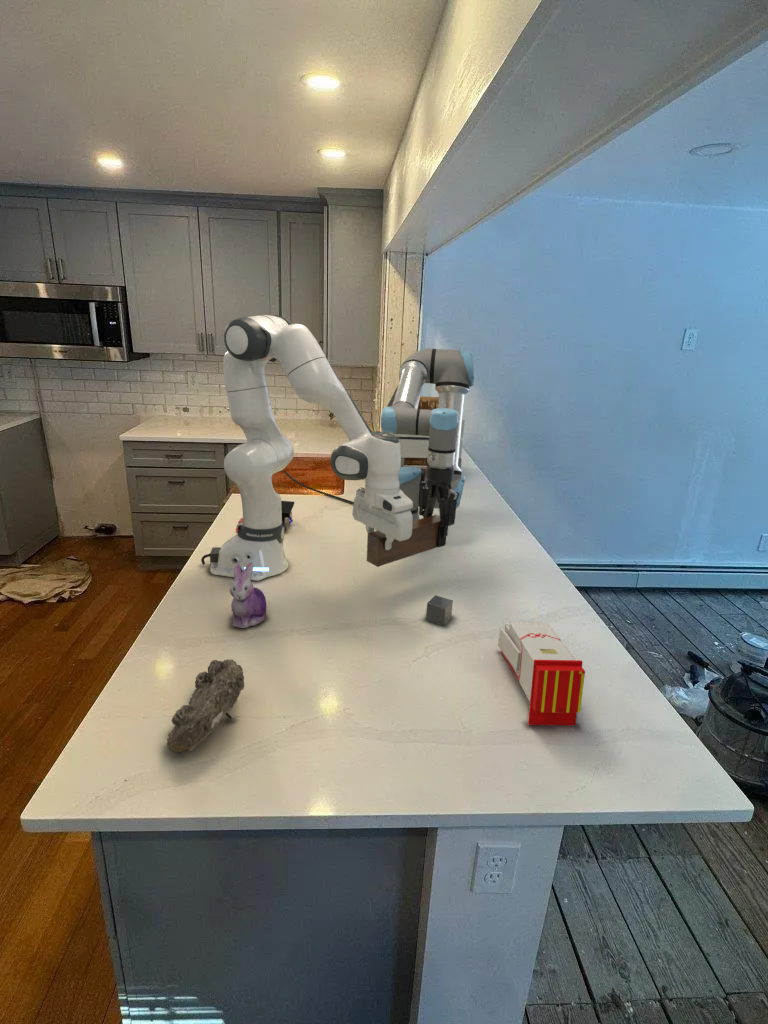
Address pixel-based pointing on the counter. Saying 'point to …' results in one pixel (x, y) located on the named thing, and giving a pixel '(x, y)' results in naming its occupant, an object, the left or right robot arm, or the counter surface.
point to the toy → (544, 672)
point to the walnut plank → (404, 542)
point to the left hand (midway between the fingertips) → (379, 545)
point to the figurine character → (287, 513)
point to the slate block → (439, 610)
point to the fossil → (206, 705)
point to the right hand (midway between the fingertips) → (434, 542)
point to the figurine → (246, 599)
